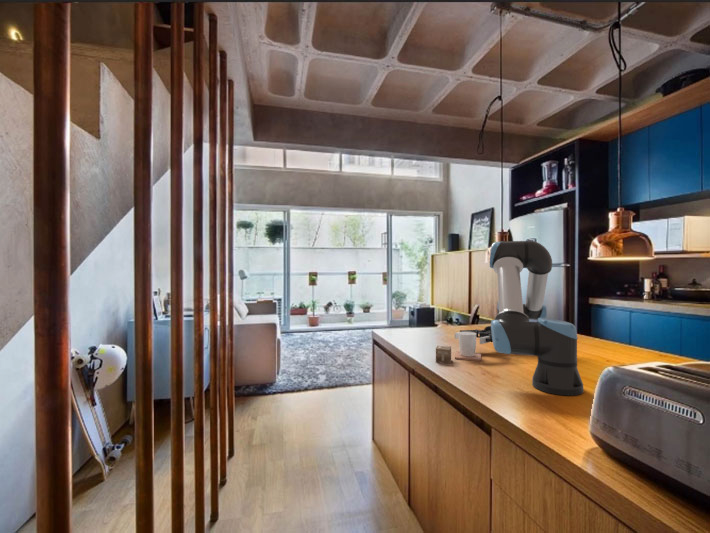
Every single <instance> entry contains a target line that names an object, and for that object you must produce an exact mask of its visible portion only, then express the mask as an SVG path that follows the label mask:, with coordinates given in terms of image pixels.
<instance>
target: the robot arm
mask: <svg viewBox="0 0 710 533" xmlns="http://www.w3.org/2000/svg"><path fill="white" fill-rule="evenodd" d="M489 267H490V268H491V269H493V271H494V272H495V274H496V275H497V276H496V277H497V295H498V296H497V300H498V301H497V308H496V310H497V312H496V315H495V317H494V320H493V319H492V320H491V321H490V325H487V326H485V328H483V329H480V330H479V329H464V330H463V329H462V330H461V329H460V330H459V331H458V332H454V340H459V334H458V333H459V332H474V333H476V339H477V338H478V339H479V345H483V344H488V343H492V346H493V348H494V350H495V352H497V353H499V354H506V355H520V356H521V355H522V356H530V357H531V356H534V357H537V365H536V366H535V369H534V373H533V376H532V386H533V387H534V388H535V389H537V390H539V391H542V392H544V393H548V394H553V395H556V396H557V395H558V396H567V397H568V396H569V397H570V396H579V395H582V394H583V393H584V383H583V380H582V377H581V375H580V371H579V369H578V339H579V337H578V332H577V327H576V326H575V325H574V324H573V323H571V322H568V321H565V320H560V319H556V318H550V317H549V318H548V317H547V310H548V309H547V306H546V305H545V304H544V299H545V294H546V288H547V283H548V276H549V273H550V272H552V268H553V259H552V255H551V254H550V251H549V250H548V249H547V248H546V247H545V246H544V245H543V244H541V243H540V242H537V241H533V240H509V241H507V240H506V241H503V240H501V241H495V242H493V243H492V244H491V246H490V256H489ZM524 268H525V269H527V270H528V278H527V285H526V296H525V302H524V303H523V292H522V283H521V273H522V271H523V269H524ZM530 320H534V321H530Z"/></svg>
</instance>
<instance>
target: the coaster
mask: <svg viewBox="0 0 710 533" xmlns="http://www.w3.org/2000/svg"><path fill="white" fill-rule="evenodd" d="M461 359H462V360H463V361H475V362H482V353H481V352H475V356H472V357H466V356H462V355H460V351H456V353H455V357H454V360H461Z"/></svg>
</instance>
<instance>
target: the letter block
mask: <svg viewBox="0 0 710 533" xmlns="http://www.w3.org/2000/svg"><path fill="white" fill-rule="evenodd" d="M451 361H452V346H450V345H437V346H435V363H440V362H444V363H443V364H451Z"/></svg>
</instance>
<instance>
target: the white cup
mask: <svg viewBox="0 0 710 533" xmlns="http://www.w3.org/2000/svg"><path fill="white" fill-rule="evenodd" d="M458 332H459V333H458ZM458 332H457V333H458V334H459V338H458V347H459V352H460V355H462V356H466V357H472V356H475V353H476V350H477V337H476V333H474V332H460V331H458Z"/></svg>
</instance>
